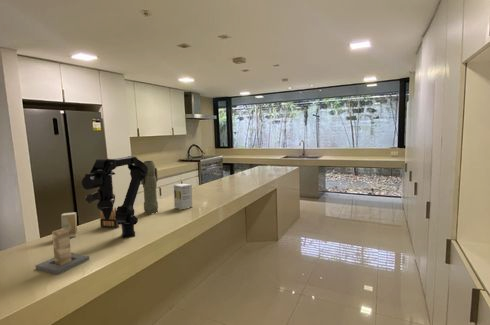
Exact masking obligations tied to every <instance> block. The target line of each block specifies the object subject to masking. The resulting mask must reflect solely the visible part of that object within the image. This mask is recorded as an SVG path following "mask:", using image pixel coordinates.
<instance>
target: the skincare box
mask: <svg viewBox="0 0 490 325" xmlns="http://www.w3.org/2000/svg"><path fill="white" fill-rule="evenodd" d="M60 220H61V221H60V222H61V229H68V230H69V238H77V236H78V223H77V222H78V221H77V220H78V219H77V212H75V211H74V212H64V213H62V214H61V215H60Z"/></svg>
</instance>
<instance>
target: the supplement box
mask: <svg viewBox="0 0 490 325" xmlns="http://www.w3.org/2000/svg"><path fill="white" fill-rule="evenodd" d="M192 186H193V185H192V184H190V183H178V184H173V197H174V198H173V201H174V208H175V207H176V208H175V209H177V208H179V209H178V210H180V209H184V210H186V209H185V208H188V207H192V208H193V190H192V189H193V188H192ZM188 209H189V208H188Z"/></svg>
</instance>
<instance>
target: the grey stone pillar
mask: <svg viewBox="0 0 490 325" xmlns="http://www.w3.org/2000/svg"><path fill="white" fill-rule="evenodd" d="M143 163H144V164H145V165H146V166H147V168H148V172H147V174H146V176H145V178H144V179H142V180H141V182H140V185H142V188H143V198H144V202H143V210H144V214H145V213H146V214H145V215H152V214H151V213H154V214H157V213H159V210H158V209H159V203H158V199H157V198H158V197H157V187H158V185H157V183H158V181H159V180H158V169H157V167H155V165H156V164H155V163H154V161H153V160H145V161H143ZM156 212H157V213H156Z"/></svg>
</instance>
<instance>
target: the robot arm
mask: <svg viewBox="0 0 490 325" xmlns="http://www.w3.org/2000/svg"><path fill="white" fill-rule="evenodd" d="M124 166H127V169H128V170H129V171H130V172H129V174H130V178H131V179H130V182H129V185H128V188H127V191H126V194H125V197H124V201H123V203H122V205H119V206H117V207H116V213H115V214H116V215H115V218H116V221H117V223H118V225H121V237H120V238H121V239H125V238H131V237H136V230H135V226H136V225H137V224H138V222H139V221H138V220H139V218H138V217H137V216H136V215H135V209H134V204H135V202H136V198H137V195H138V192H139V190H140V189H139V188H140V185H141V180H142V179H144V178H145V176H146V174H147V172H148V168H147V166H146V165H145V164H144V161H142V160H140V159H138V158H137V156H131V155H130V156H129V155H128V156H124V157H118V158H97V159H96V160H95V163H94V164H93V166H92V168H91V170H90V173H85V174H84V177H83V178H82V180H81V185H82V188H83V189H85V190H93V189H97V188H98V189H97V191H95V192H92V193H91V192H90V193H88V194H86V195H85V197H84V199H85V201H86V203H87V204H91V203H92V202H94V201H98V202H97V203H96V208H97V209H98V210H100V212H101V211H102V212H103V214H104V217H105V220H106V221H109V218H110V215H111V212H112V209H114V205H115V202H116V195H115V194H114V187H113V175H116V173H115V172H114V171H113V170H115V169H116V168H119V167H124Z"/></svg>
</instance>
